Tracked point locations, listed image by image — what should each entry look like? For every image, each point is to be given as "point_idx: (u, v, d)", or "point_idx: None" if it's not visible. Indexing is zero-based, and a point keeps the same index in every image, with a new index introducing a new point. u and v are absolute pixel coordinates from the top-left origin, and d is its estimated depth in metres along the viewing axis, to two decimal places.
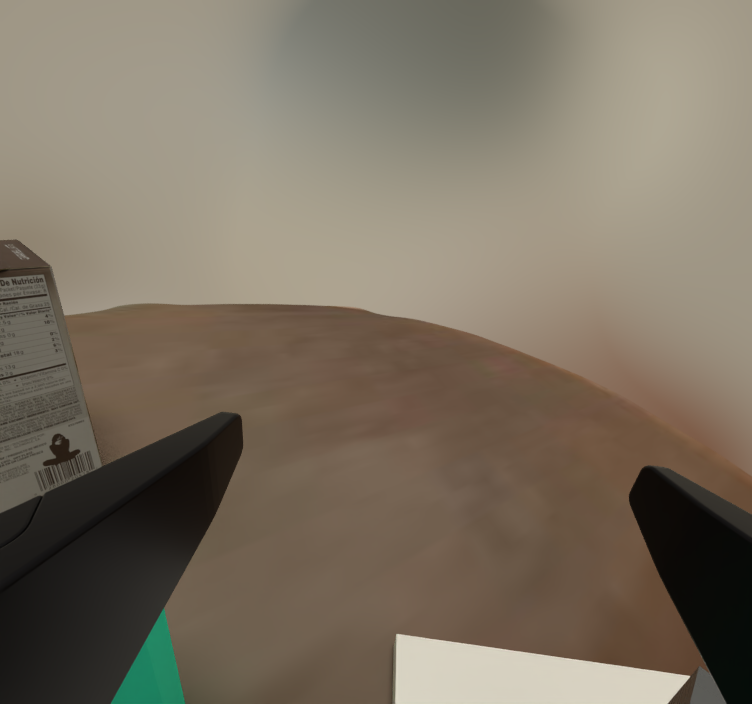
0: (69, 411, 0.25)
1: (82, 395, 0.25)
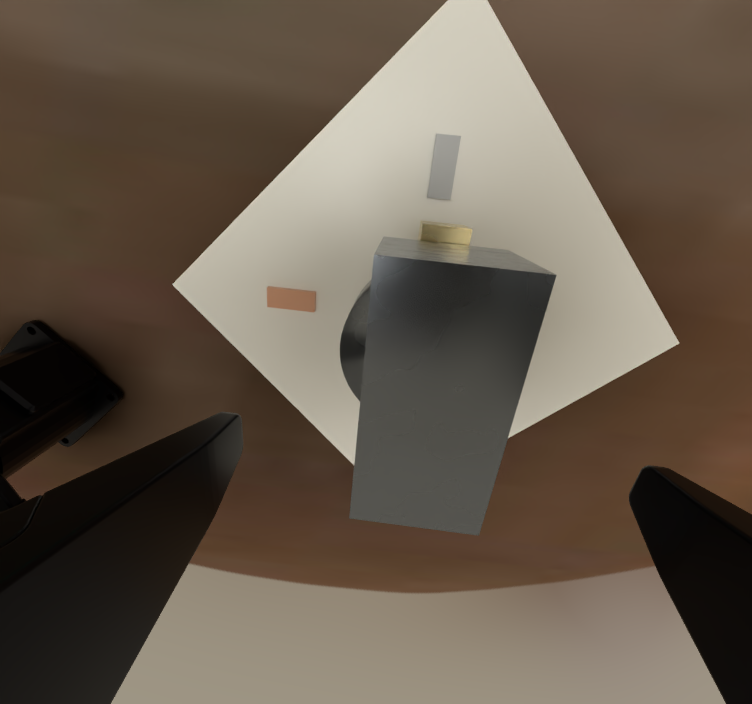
0: None
1: None
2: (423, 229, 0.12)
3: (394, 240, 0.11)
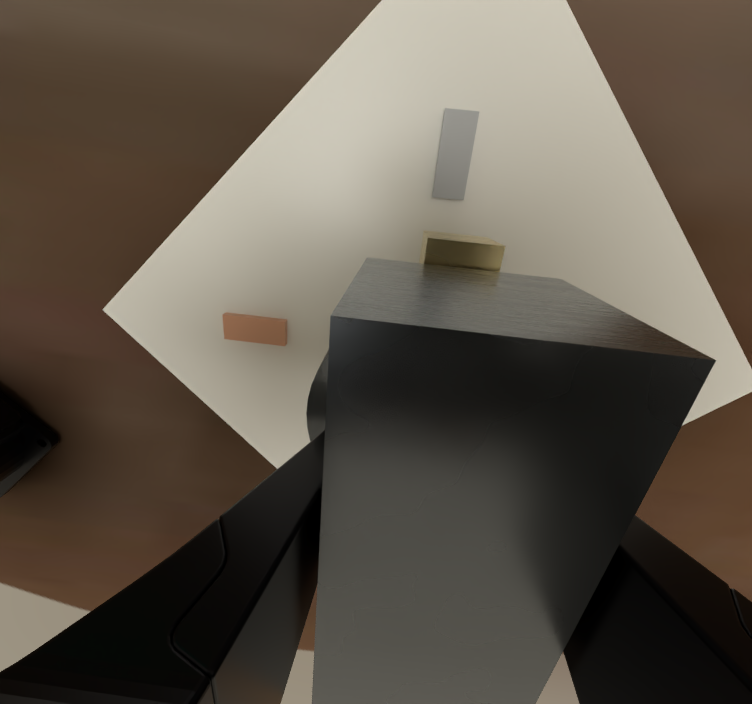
0: None
1: None
2: (428, 246, 0.07)
3: (382, 266, 0.07)
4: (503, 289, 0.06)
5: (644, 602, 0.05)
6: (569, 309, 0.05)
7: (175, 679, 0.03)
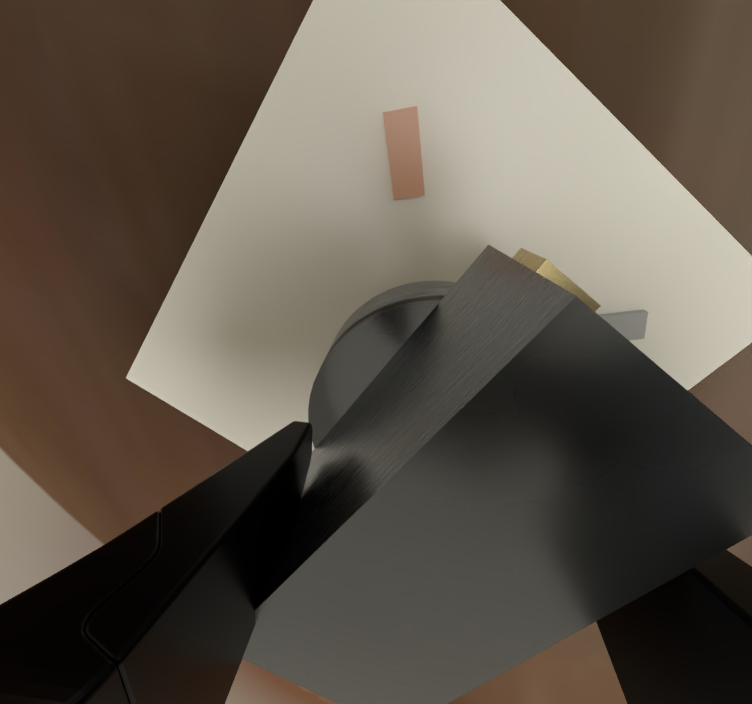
0: None
1: None
2: (542, 267, 0.07)
3: None
4: None
5: (706, 611, 0.05)
6: None
7: (80, 666, 0.03)
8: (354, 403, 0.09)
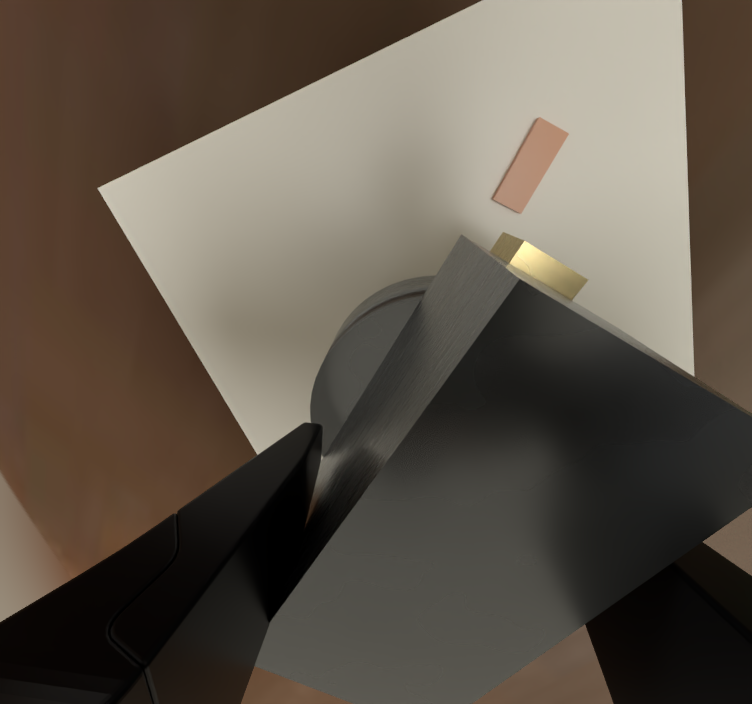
0: None
1: None
2: (521, 249, 0.07)
3: (485, 250, 0.06)
4: (600, 320, 0.06)
5: (689, 608, 0.05)
6: (668, 363, 0.05)
7: (105, 670, 0.03)
8: (354, 408, 0.09)
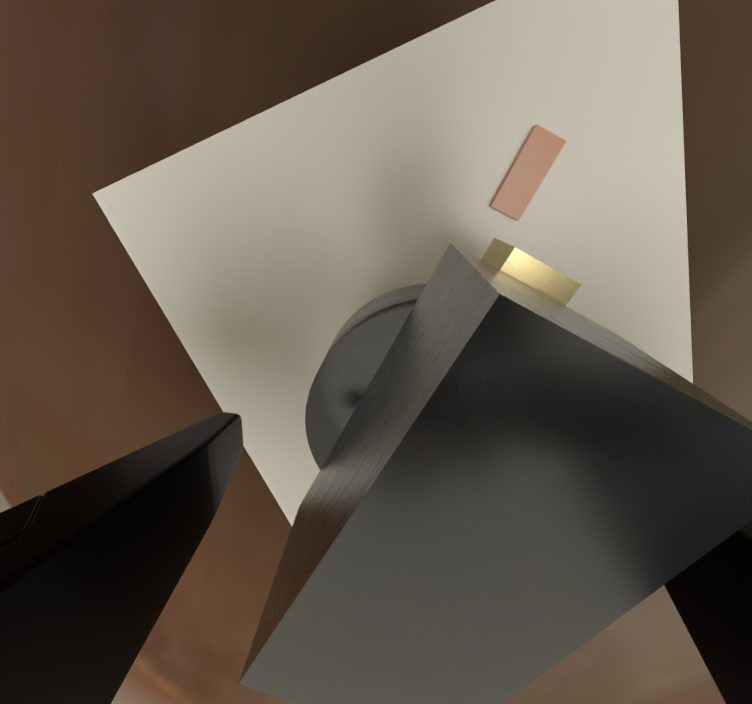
0: None
1: None
2: (511, 255, 0.07)
3: (474, 258, 0.06)
4: (593, 327, 0.06)
5: None
6: (662, 370, 0.05)
7: None
8: (349, 420, 0.09)
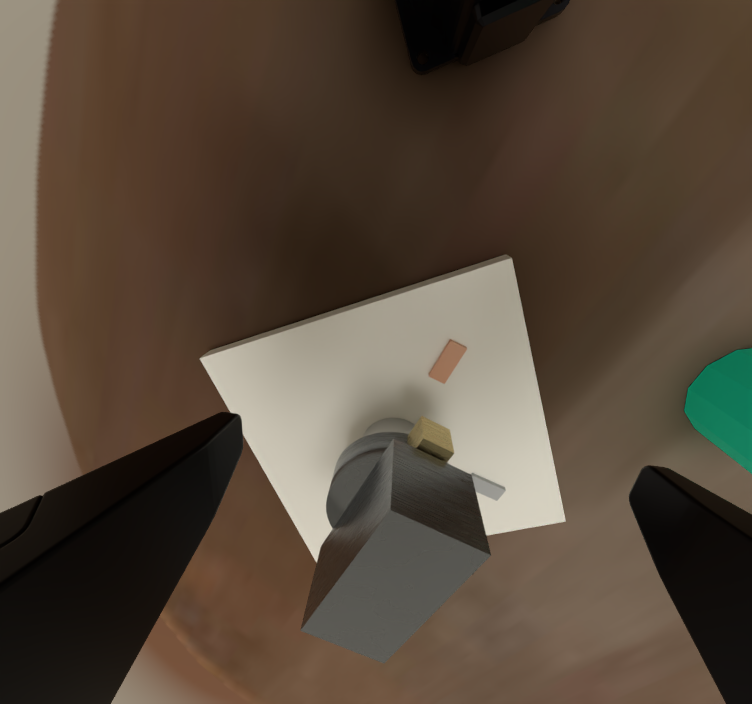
0: None
1: None
2: (422, 441, 0.16)
3: (401, 453, 0.15)
4: (445, 487, 0.15)
5: None
6: (463, 511, 0.14)
7: None
8: (348, 506, 0.17)
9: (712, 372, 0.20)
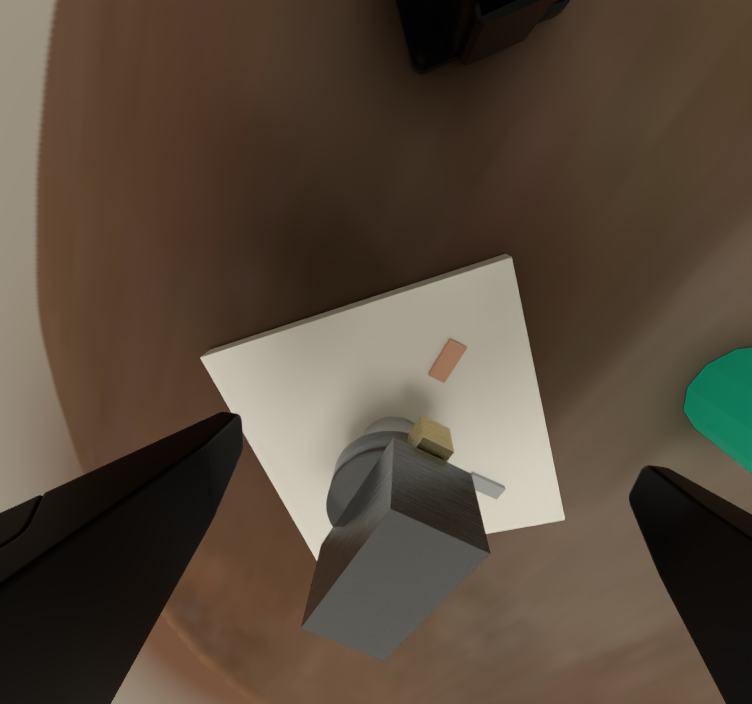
0: None
1: None
2: (421, 440, 0.16)
3: (401, 452, 0.15)
4: (444, 486, 0.15)
5: None
6: (463, 510, 0.14)
7: None
8: (348, 505, 0.18)
9: (711, 371, 0.20)
